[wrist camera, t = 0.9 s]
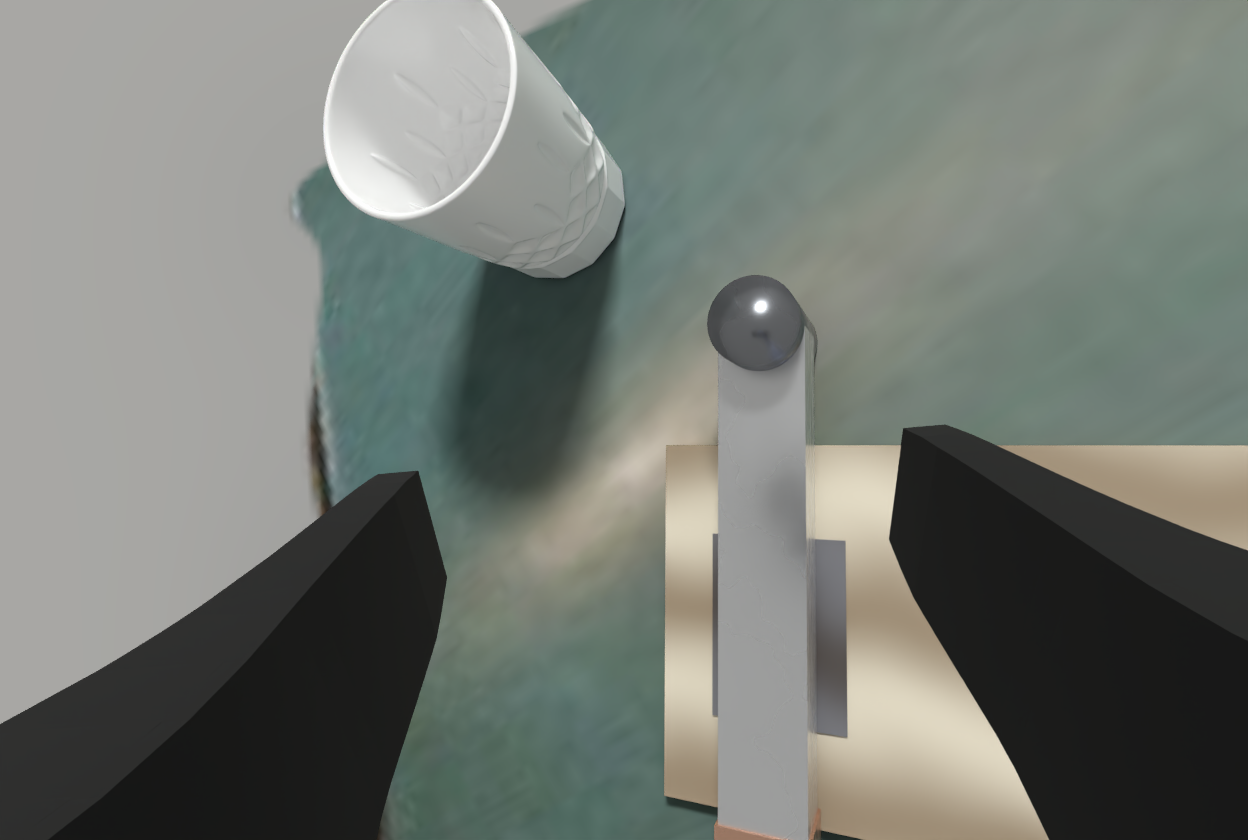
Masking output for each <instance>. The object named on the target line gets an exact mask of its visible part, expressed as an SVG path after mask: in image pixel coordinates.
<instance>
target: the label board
mask: <svg viewBox="0 0 1248 840" xmlns="http://www.w3.org/2000/svg"><path fill="white" fill-rule="evenodd" d="M999 447H1001V448H1003V449H1005V450H1008V451H1010V452H1012V453H1014V454H1016V455H1018V456H1021V457H1023V458H1025V459H1027V460H1029V461H1031V462H1034V463H1036V464H1038V465H1040V466H1042V467H1044V468H1047V469H1049V470H1051V471H1053V472H1055V473H1057V474H1060V475H1062V476H1064V477H1066V478H1068V479H1071V480H1073V481H1075V482H1077V483H1080V484H1082V485H1084V486H1086V487H1089V488H1091V489H1093V490H1095V491H1098V492H1100V493H1102V494H1105V495H1107V496H1109V497H1111V498H1114V499H1116V500H1118V501H1121V502H1123V503H1125V504H1128V505H1130V506H1133V507H1135V508H1138V509H1140V510H1143V511H1145V512H1148V513H1150V514H1152V515H1155V516H1157V517H1160V518H1162V519H1165V520H1167V521H1170V522H1172V523H1175V524H1177V525H1180V526H1182V527H1185V528H1187V529H1190V530H1192V531H1195V532H1198V533H1201V534H1203V535H1206V536H1209V537H1211V538H1214V539H1217V540H1219V541H1222V542H1225V543H1228V544H1231V545H1234V546H1237V547H1240V548H1243V549H1245V550H1248V446H999ZM900 449H901V445H815V555H816V681H817V808H819V809H821V830H822V831H827V832H831V833H836V834H840V835H845V836H849V837H854V838H858V839H863V840H1049V839H1048V836H1047V834H1046V832H1045V830H1044V828H1043V826H1042V824H1041V822H1040V820H1039V818H1038V816H1037V814H1036V812H1035V809H1034V807H1033V805H1032V803H1031V801H1030V799H1029V797H1028V795H1027V793H1026V791H1025V789H1024V787H1023V785H1022V782H1021V780H1020V778H1019V776H1018V774H1017V772H1016V770H1015V768H1014V766H1013V764H1012V763H1011V761H1010V759H1009V757H1008V755H1007V754H1006V752H1005V750H1004V748H1003V746H1002V745H1001V743H1000V741H999V739H998V737H997V736H996V734H995V732H994V730H993V729H992V727H991V725H990V724H989V722H988V721H987V719H986V717H985V716H984V714H983V712H982V711H981V709H980V707H979V706H978V704H977V702H976V701H975V699H974V698H973V696H972V694H971V693H970V691H969V689H968V688H967V686H966V684H965V683H964V681H963V679H962V678H961V676H960V675H959V673H958V671H957V670H956V668H955V666H954V665H953V663H952V661H951V660H950V658H949V657H948V655H947V653H946V652H945V650H944V648H943V647H942V645H941V643H940V642H939V640H938V638H937V637H936V635H935V633H934V632H933V630H932V628H931V627H930V625H929V623H928V622H927V620H926V618H925V617H924V615H923V613H922V612H921V610H920V608H919V606H918V605H917V603H916V601H915V599H914V598H913V596H912V593H911V591H910V589H909V587H908V584H907V582H906V580H905V578H904V575H903V573H902V571H901V568H900V566H899V563H898V561H897V559H896V556H895V554H894V551H893V549H892V546H891V544H890V541H889V534H890V526H891V519H892V511H893V503H894V496H895V488H896V480H897V472H898V465H899V457H900ZM664 796H668V797H673V798H677V799H682V800H686V801H691V802H695V803H700V804H704V805H709V806H713V807H718V445H666V573H665V762H664Z"/></svg>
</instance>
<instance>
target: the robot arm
mask: <svg viewBox="0 0 1248 840" xmlns="http://www.w3.org/2000/svg"><path fill="white" fill-rule="evenodd" d="M889 541H890V544H891V546H892V549H893V551H894V554H895V556H896V559H897V561H898V563H899V566H900V568H901V571H902V573H903V575H904V578H905V580H906V582H907V584H908V587H909V589H910V591H911V593H912V596H913V598H914V599H915V601H916V603H917V605H918V606H919V608H920V610H921V612H922V613H923V615H924V617H925V618H926V620H927V622H928V623H929V625H930V627H931V628H932V630H933V632H934V633H935V635H936V637H937V638H938V640H939V642H940V643H941V645H942V647H943V648H944V650H945V652H946V653H947V655H948V657H949V658H950V660H951V661H952V663H953V665H954V666H955V668H956V670H957V671H958V673H959V675H960V676H961V678H962V679H963V681H964V683H965V684H966V686H967V688H968V689H969V691H970V693H971V694H972V696H973V698H974V699H975V701H976V702H977V704H978V706H979V707H980V709H981V711H982V712H983V714H984V716H985V717H986V719H987V721H988V722H989V724H990V725H991V727H992V729H993V730H994V732H995V734H996V736H997V737H998V739H999V741H1000V743H1001V745H1002V746H1003V748H1004V750H1005V752H1006V754H1007V755H1008V757H1009V759H1010V761H1011V763H1012V764H1013V766H1014V768H1015V770H1016V772H1017V774H1018V776H1019V778H1020V780H1021V782H1022V785H1023V787H1024V789H1025V791H1026V793H1027V795H1028V797H1029V799H1030V801H1031V803H1032V805H1033V807H1034V809H1035V812H1036V814H1037V816H1038V818H1039V820H1040V822H1041V824H1042V826H1043V828H1044V830H1045V832H1046V834H1047V836H1048V839H1049V840H1248V550H1245V549H1243V548H1240V547H1237V546H1234V545H1231V544H1228V543H1225V542H1222V541H1219V540H1217V539H1214V538H1211V537H1209V536H1206V535H1203V534H1201V533H1198V532H1195V531H1192V530H1190V529H1187V528H1185V527H1182V526H1180V525H1177V524H1175V523H1172V522H1170V521H1167V520H1165V519H1162V518H1160V517H1157V516H1155V515H1152V514H1150V513H1148V512H1145V511H1143V510H1140V509H1138V508H1135V507H1133V506H1130V505H1128V504H1125V503H1123V502H1121V501H1118V500H1116V499H1114V498H1111V497H1109V496H1107V495H1105V494H1102V493H1100V492H1098V491H1095V490H1093V489H1091V488H1089V487H1086V486H1084V485H1082V484H1080V483H1077V482H1075V481H1073V480H1071V479H1068V478H1066V477H1064V476H1062V475H1060V474H1057V473H1055V472H1053V471H1051V470H1049V469H1047V468H1044V467H1042V466H1040V465H1038V464H1036V463H1034V462H1031V461H1029V460H1027V459H1025V458H1023V457H1021V456H1018V455H1016V454H1014V453H1012V452H1010V451H1008V450H1005V449H1003V448H1001V447H999V446H997V445H994V444H992V443H990V442H988V441H985V440H983V439H981V438H979V437H976V436H974V435H971V434H969V433H967V432H964V431H962V430H959V429H956V428H953V427H950V426H947V425H935V426H924V427H913V428H903V434H902V442H901V449H900V457H899V465H898V472H897V480H896V488H895V496H894V503H893V511H892V519H891V526H890V534H889ZM446 580H447V576H446V572H445V568H444V565H443V561H442V557H441V554H440V550H439V546H438V542H437V539H436V535H435V531H434V528H433V524H432V520H431V517H430V513H429V509H428V505H427V502H426V498H425V494H424V491H423V487H422V483H421V480H420V476H419V472H418V471H410V472H399V473H387V474H378V475H376V476H374V477H373V478H371V479H370V480H368V481H367V482H365V483H364V484H362V485H361V486H360V487H358V488H357V489H356V490H354V491H353V492H352V493H350V494H349V495H348V496H346V497H345V498H344V499H342V500H341V501H340V502H339V503H337V504H336V505H335V506H334V507H332V508H331V509H330V510H328V511H327V512H326V513H325V514H323V515H322V516H321V517H320V518H318V519H317V520H316V521H314V522H313V523H312V524H311V525H309V526H308V527H307V528H306V529H304V530H303V531H302V532H301V533H299V534H298V535H297V536H295V537H294V538H293V539H291V540H290V541H289V542H288V543H286V544H285V545H284V546H282V547H281V548H280V549H279V550H277V551H276V552H275V553H273V554H272V555H271V556H270V557H268V558H267V559H265V560H264V561H263V562H261V563H260V564H258V565H257V566H256V567H254V568H253V569H252V570H250V571H249V572H248V573H246V574H245V575H243V576H242V577H241V578H239V579H238V580H236V581H235V582H234V583H232V584H231V585H229V586H228V587H227V588H226V589H224V590H222V591H221V592H220V593H218V594H217V595H216V596H214V597H213V598H212V599H210V600H209V601H207V602H206V603H204V604H203V605H202V606H200V607H199V608H197V609H196V610H194V611H193V612H191V613H190V614H188V615H187V616H185V617H184V618H182V619H181V620H179V621H178V622H176V623H175V624H173V625H171V626H170V627H168V628H167V629H165V630H164V631H162V632H161V633H159V634H157V635H156V636H154V637H153V638H151V639H149V640H148V641H146V642H145V643H143V644H141V645H140V646H138V647H137V648H135V649H133V650H131V651H130V652H128V653H127V654H125V655H124V656H122V657H120V658H119V659H117V660H115V661H113V662H112V663H110V664H108V665H107V666H105V667H103V668H102V669H100V670H98V671H96V672H95V673H93V674H91V675H89V676H88V677H86V678H84V679H82V680H80V681H78V682H77V683H75V684H73V685H71V686H69V687H68V688H65V689H64V690H62V691H60V692H58V693H56V694H54V695H53V696H51V697H49V698H47V699H45V700H44V701H42V702H40V703H38V704H36V705H34V706H33V707H31V708H29V709H27V710H25V711H23V712H22V713H20V714H18V715H16V716H14V717H12V718H11V719H9V720H7V721H5V722H3V723H2V724H0V840H377V835H378V830H379V826H380V821H381V817H382V813H383V810H384V806H385V803H386V799H387V795H388V792H389V788H390V784H391V781H392V778H393V775H394V772H395V769H396V765H397V762H398V759H399V756H400V753H401V750H402V747H403V744H404V740H405V737H406V734H407V731H408V728H409V725H410V722H411V718H412V715H413V712H414V709H415V706H416V703H417V700H418V697H419V693H420V690H421V687H422V684H423V681H424V678H425V674H426V671H427V668H428V665H429V661H430V658H431V655H432V652H433V648H434V645H435V642H436V638H437V633H438V628H439V623H440V617H441V612H442V606H443V599H444V593H445V587H446Z"/></svg>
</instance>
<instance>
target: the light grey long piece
mask: <svg viewBox="0 0 1248 840" xmlns="http://www.w3.org/2000/svg"><path fill="white" fill-rule="evenodd" d="M707 326H708V333H709V337H710V340H711V342H712V344H713V346H714V347H715V349H716V350H717V351H718V819H717V821H716V823H715V825H714V840H821V809H819V808H817V681H816V555H815V429H814V357H815V354H816V351H817V335H816V331H815V329H814V327H813V325H812V323H811V322H810V320H809V319H808V317H807V316H806V314H805V313H804V311H803V310H802V308H801V307H800V305H799V304H798V303H797V301H796V300H795V298H794V297H793V295H792V294H791V292H790V291H789V290H788V289H787V288H786V287H785V286H784V285H783V284H782V283H780V282H779V281H777V280H775V279H773V278H770V277H767V276H761V275H751V276H745V277H742V278H739V279H737V280H734V281H733V282H731V283H729V284H728V285H727V286H725V287H724V288H723V289H722V290H721V291H720V292H719V293H718V295H717V296H716V298H715V299H714V301H713V303H712V305H711V307H710V310H709V314H708V322H707Z"/></svg>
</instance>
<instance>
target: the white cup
mask: <svg viewBox="0 0 1248 840" xmlns="http://www.w3.org/2000/svg"><path fill="white" fill-rule="evenodd" d="M323 138H324V148H325V153H326V158H327V162H328V165H329V168H330V171H331V174H332V176H333V178H334V180H335V182H336V184H337V186H338V187H339V189H340V190H341V192H342V193H343V194H344V196H345V197H346V198H347V199H348V200H349V201H350V202H351V203H352V204H353V205H354V206H355V207H357V208H358V209H360V210H361V211H363V212H364V213H366V214H368V215H370V216H373V217H375V218H378V219H380V220H383V221H386V222H388V223H391V224H393V225H396V226H398V227H401V228H403V229H406V230H408V231H411V232H413V233H416V234H418V235H421V236H423V237H426V238H428V239H431V240H433V241H436V242H438V243H441V244H443V245H446V246H448V247H451V248H453V249H456V250H458V251H461V252H464V253H467V254H470V255H473V256H476V257H479V258H481V259H484V260H486V261H489V262H492V263H495V264H499V265H503V266H507V267H511V268H513V269H516V270H518V271H520V272H523V273H525V274H528V275H530V276H532V277H535V278H566V277H568V276H570V275H572V274H574V273H576V272H578V271H580V270H582V269H584V268H586V267H588V266H590V265H592V264H593V263H594V262H595V261H596V259H597V258H598V257H599V256H600V255H601V253H602V252H603V251H604V250H605V249H606V248H607V246H608V245H609V244H610V243H611V242H612V240H613V239H614V238H615V235H616V232H617V229H618V226H619V222H620V219H621V216H622V213H623V210H624V207H625V199H624V189H623V179H622V172H621V170H620V168H619V167H618V165H617V164H616V162H615V161H614V159H613V158H612V156H611V155H610V153H609V152H608V150H607V148H606V147H605V146H604V144H603V143H602V142H601V141H600V140H599V138H598V137H597V136H596V135H595V133H594V130H593V128H592V126H591V125H590V123H589V122H588V121H587V119H586V118H585V117H584V116H583V115H582V113H581V112H580V111H579V109H578V108H577V106H576V105H575V104H574V102H573V101H572V100H571V99H570V97H569V96H568V95H567V94H566V93H565V91H564V89H563V88H562V86H561V85H560V84H559V82H558V81H557V80H556V79H555V77H554V76H553V75H552V74H551V72H550V71H549V70H548V69H547V68H546V66H545V65H544V64H543V63H542V61H541V60H540V59H539V58H538V57H537V55H536V54H535V53H534V52H533V50H532V49H531V48H530V47H529V46H528V44H527V43H526V42H525V41H524V39H523V38H522V37H521V36H520V35H519V33H518V32H517V31H516V30H515V28H514V27H513V26H512V25H511V23H510V22H509V21H508V20H507V19H506V18H505V16H504V15H503V13H502V12H501V11H500V10H499V9H498V7H497V6H496V5H495V4H494V2H493V1H491V0H387V1H385V2H384V3H383V4H382V5H380V6H379V7H378V8H377V9H376V10H375V11H374V12H373V13H372V14H371V15H370V16H369V17H368V18H367V19H366V20H365V21H364V22H363V23H362V25H361V26H360V27H359V29H358V30H357V31H356V33H355V34H354V35H353V37H352V38H351V40H350V42H349V43H348V44H347V46H346V48H345V50H344V51H343V53H342V55H341V57H340V59H339V61H338V64H337V66H336V68H335V71H334V73H333V76H332V79H331V82H330V86H329V89H328V93H327V98H326V103H325V110H324V121H323Z"/></svg>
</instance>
